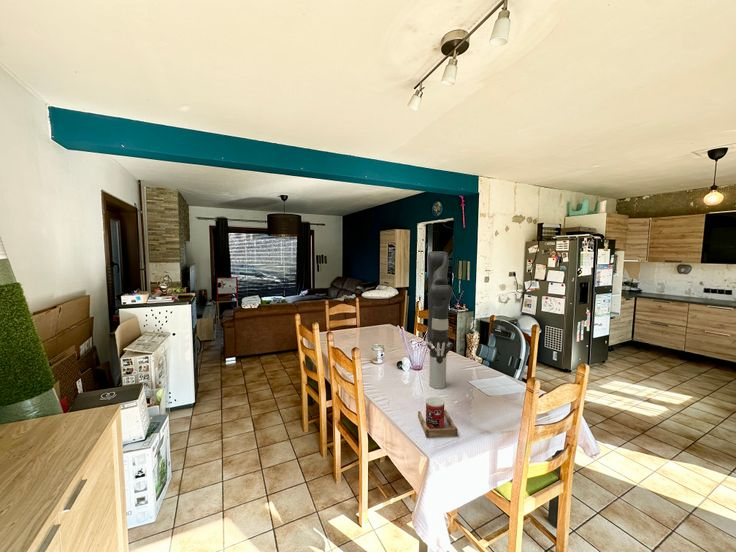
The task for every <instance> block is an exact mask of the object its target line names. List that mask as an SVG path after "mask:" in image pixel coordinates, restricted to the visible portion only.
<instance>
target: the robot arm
mask: <svg viewBox="0 0 736 552" xmlns="http://www.w3.org/2000/svg"><path fill="white" fill-rule="evenodd" d="M449 258H450V257H449V253H448V252H447V251H441V250H440V251H437V250H436V251H429V252H428V255H427V272H428V273H427V275H428V276H427V277H428V284H427V285H428V288H427V289H428V291H427V310H428V312H427V316H428V317H427V331H426V335H427V336H426V337H427V338H426V339H427V343H426V344H425V345H426V347H427V348H428V350H429V369H428V370H429V374H428V375H429V379H428V381H429V382H428V383H429V385H428V386H429V387H431V388H433V389H437V390H438V389H439V390H442V389H445V388H446V387H447V355H448V353H449V352H450V351H451V349H452V348H453V347H454V344H453V343H452V342H450V339H449V307H450V303H451V300H452V298H453V293H454V292H453V287H452V286H451V285H449V281H448V273H449V272H448V270H449V262H450V261H449ZM435 269H436V270H435Z"/></svg>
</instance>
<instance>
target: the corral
mask: <svg viewBox="0 0 736 552" xmlns="http://www.w3.org/2000/svg"><path fill="white" fill-rule="evenodd" d="M417 419H418V420H419V422H420V425H421V428H422V430H423V433H424V435H425V438H427V439H428V438H443V437H444V438H445V437H458V433H459V431H458V430H459V429H458V428H457V426H456V424H455V423H454V421H453V418H451V415H449V413H448V411H447V410H446V409H444V420H445V421H446V423H447V425H448V426H449V427H447V428H442V429H430V428H428V427H427V425H426V420H425V419H424V416H423V414H422V411H421V410H418V411H417Z"/></svg>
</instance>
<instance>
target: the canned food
mask: <svg viewBox="0 0 736 552" xmlns="http://www.w3.org/2000/svg"><path fill="white" fill-rule="evenodd" d="M444 410H445V400H444V399H443V398H441V397H437V396H431V397H428V398H426V399H425V423H426V425H427V427H428V429H442V428H443V427H444V425H445V418H444Z"/></svg>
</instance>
